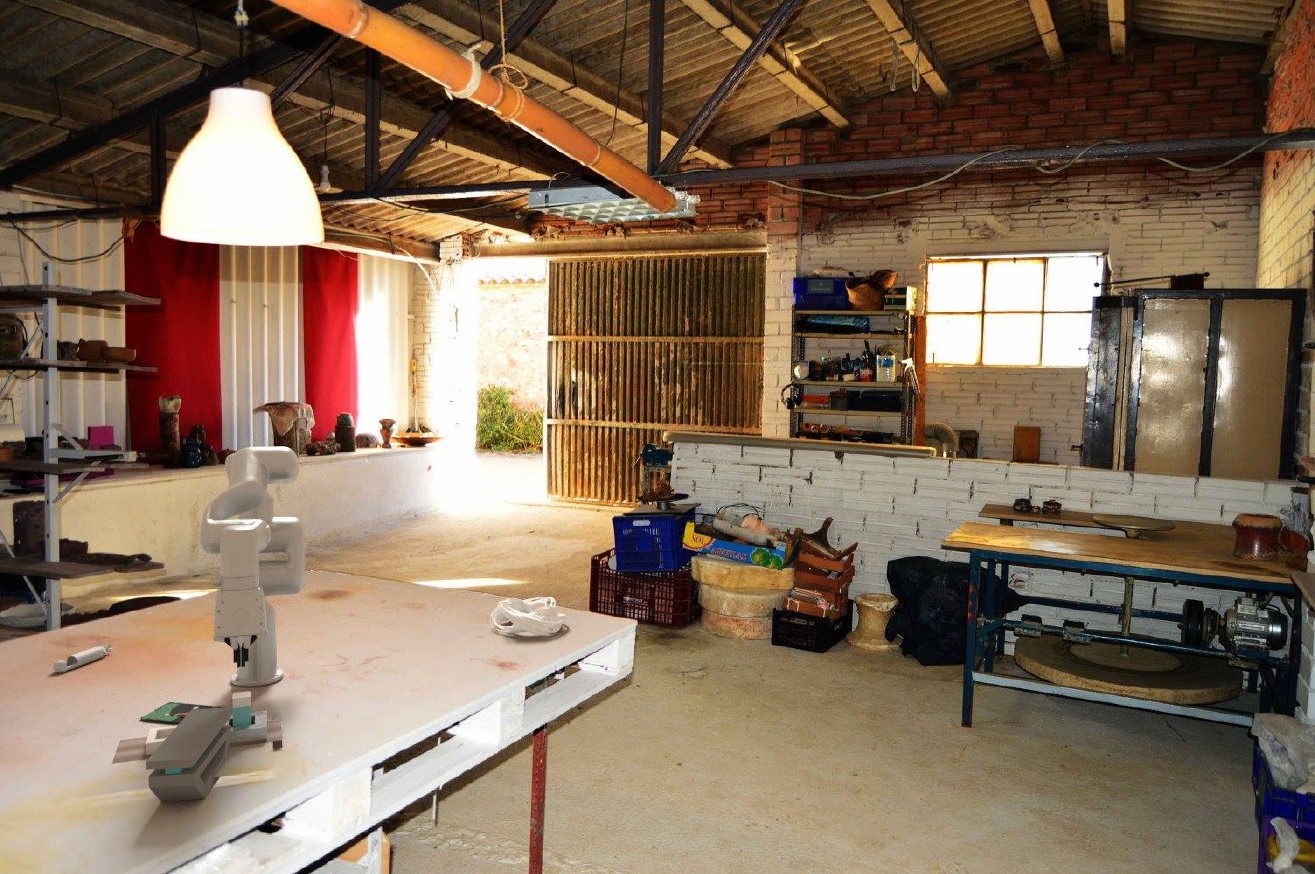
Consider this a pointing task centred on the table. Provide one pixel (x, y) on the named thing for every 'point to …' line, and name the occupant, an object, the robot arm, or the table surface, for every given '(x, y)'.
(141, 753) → the board
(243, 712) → the plug
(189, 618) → the table surface
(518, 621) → the coil
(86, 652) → the torpedo
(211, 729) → the grey slotted long block
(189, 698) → the table surface
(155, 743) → the cream square frame
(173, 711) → the disk drive
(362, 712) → the table surface
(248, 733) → the port
